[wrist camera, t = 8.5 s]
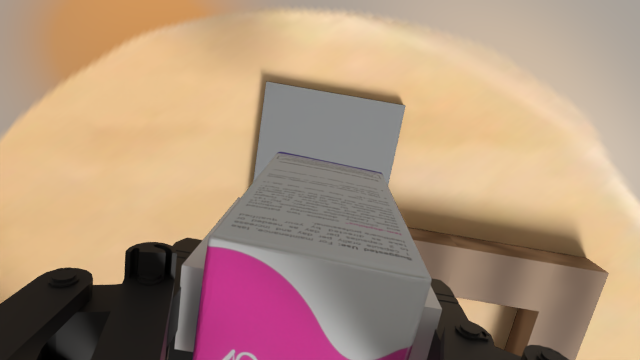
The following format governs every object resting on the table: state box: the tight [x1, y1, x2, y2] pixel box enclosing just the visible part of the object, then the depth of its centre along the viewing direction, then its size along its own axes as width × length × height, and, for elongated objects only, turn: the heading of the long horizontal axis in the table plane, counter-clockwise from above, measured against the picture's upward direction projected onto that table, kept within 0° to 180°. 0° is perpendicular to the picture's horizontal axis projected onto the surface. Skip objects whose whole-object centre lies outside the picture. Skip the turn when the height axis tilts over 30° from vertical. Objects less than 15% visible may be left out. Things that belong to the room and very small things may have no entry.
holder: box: [407, 227, 609, 360], centre depth 37 cm, size 18×18×3 cm
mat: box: [253, 82, 405, 185], centre depth 35 cm, size 12×12×1 cm
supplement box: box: [192, 152, 432, 360], centre depth 15 cm, size 6×6×12 cm
